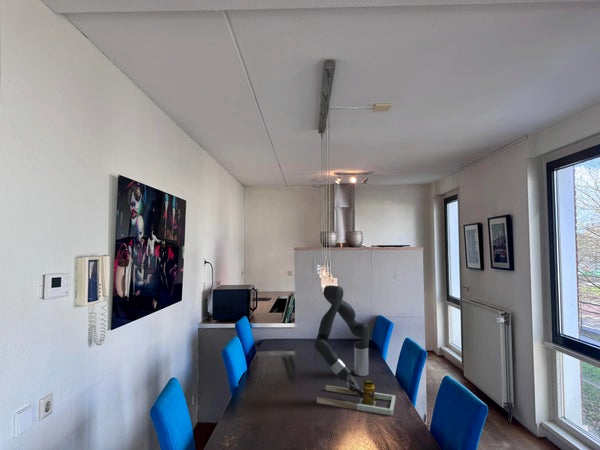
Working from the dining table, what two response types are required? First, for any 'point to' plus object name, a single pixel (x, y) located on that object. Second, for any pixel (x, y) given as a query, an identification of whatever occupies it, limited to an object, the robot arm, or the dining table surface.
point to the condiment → (368, 393)
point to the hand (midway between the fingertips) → (362, 395)
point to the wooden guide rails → (338, 402)
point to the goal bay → (379, 409)
